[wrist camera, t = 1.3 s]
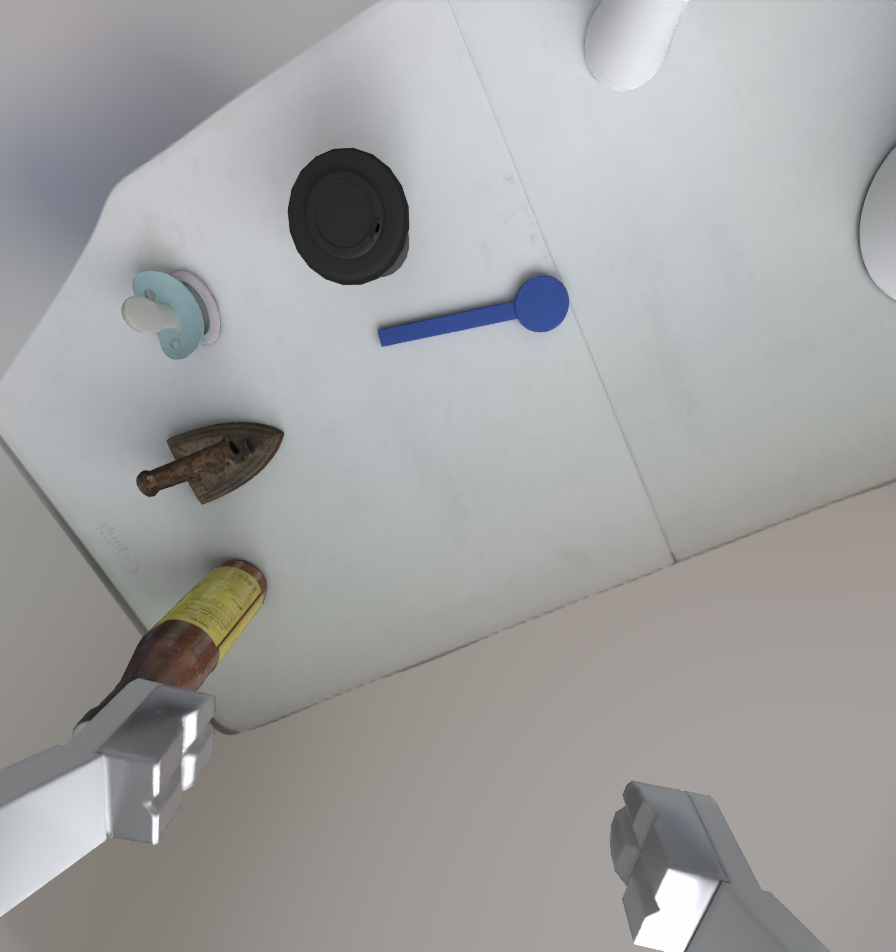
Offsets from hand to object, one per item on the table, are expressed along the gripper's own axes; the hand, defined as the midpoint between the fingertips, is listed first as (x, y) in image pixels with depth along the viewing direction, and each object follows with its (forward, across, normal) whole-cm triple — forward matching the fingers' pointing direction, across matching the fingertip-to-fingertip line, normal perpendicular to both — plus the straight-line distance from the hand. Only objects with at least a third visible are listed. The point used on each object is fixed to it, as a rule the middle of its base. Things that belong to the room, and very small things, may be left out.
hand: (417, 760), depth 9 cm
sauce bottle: (+36, +20, +22) cm, 47 cm away
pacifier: (+36, +26, -5) cm, 45 cm away
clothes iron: (+36, +21, +7) cm, 43 cm away
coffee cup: (+36, +10, -14) cm, 40 cm away
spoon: (+36, +1, -9) cm, 37 cm away
